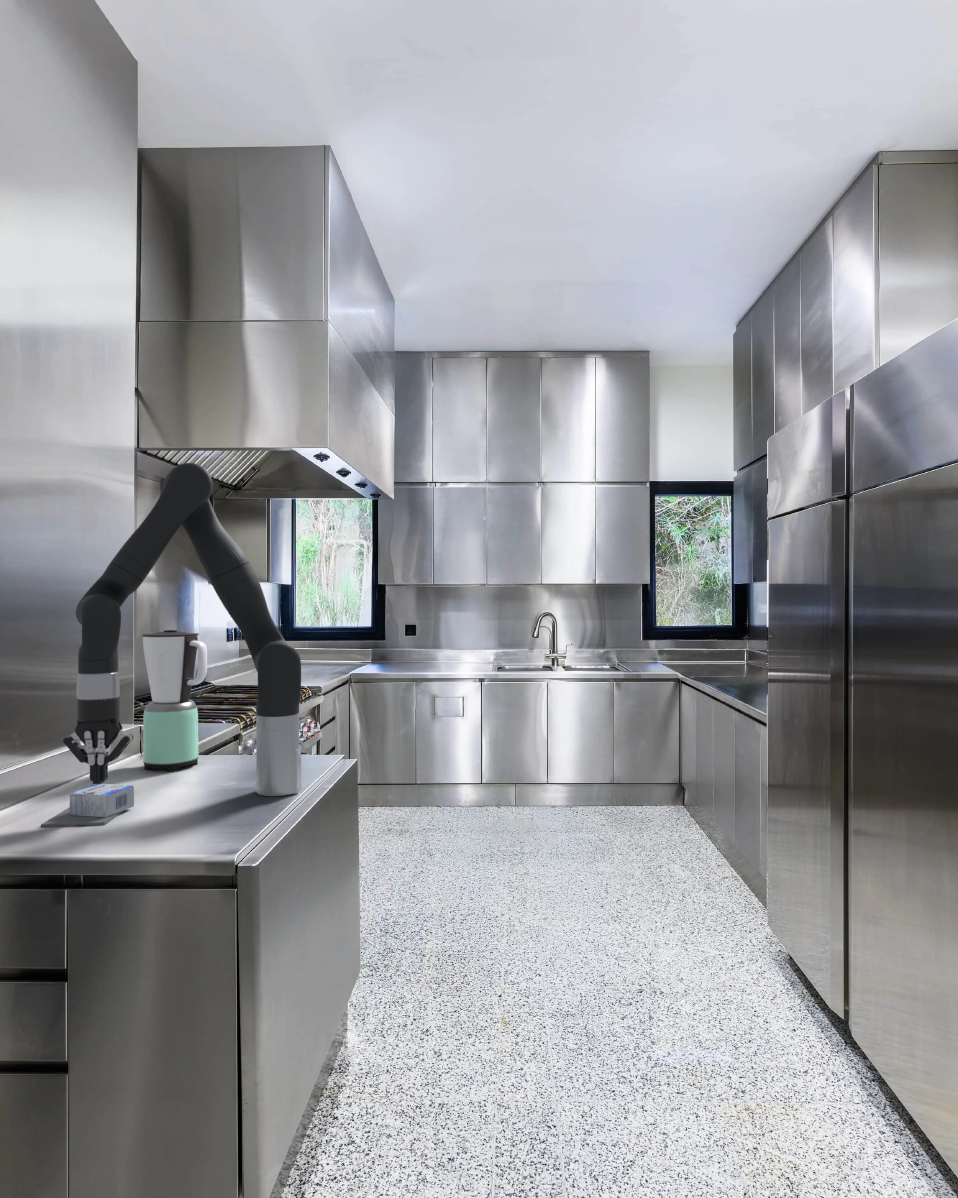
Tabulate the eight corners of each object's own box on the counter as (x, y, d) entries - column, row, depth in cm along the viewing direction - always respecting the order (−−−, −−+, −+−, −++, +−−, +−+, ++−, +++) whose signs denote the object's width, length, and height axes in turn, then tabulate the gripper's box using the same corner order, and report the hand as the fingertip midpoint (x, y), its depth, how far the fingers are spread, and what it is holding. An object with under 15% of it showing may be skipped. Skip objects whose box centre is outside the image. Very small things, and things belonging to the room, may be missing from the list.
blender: (124, 770, 183) (124, 631, 183) (162, 759, 196) (161, 629, 196) (188, 775, 177) (187, 631, 177) (222, 763, 190) (222, 629, 190)
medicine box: (107, 795, 141) (68, 792, 142) (107, 818, 141) (68, 815, 142) (134, 785, 148) (98, 782, 150) (134, 807, 148) (97, 804, 150)
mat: (129, 807, 150) (129, 804, 150) (104, 825, 138) (104, 822, 138) (70, 809, 149) (70, 806, 149) (40, 827, 137) (40, 824, 137)
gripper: (140, 692, 148) (140, 777, 148) (72, 693, 147) (72, 779, 147) (126, 697, 140) (126, 787, 140) (54, 698, 139) (54, 789, 139)
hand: (98, 783), depth 143 cm, fingers closed
